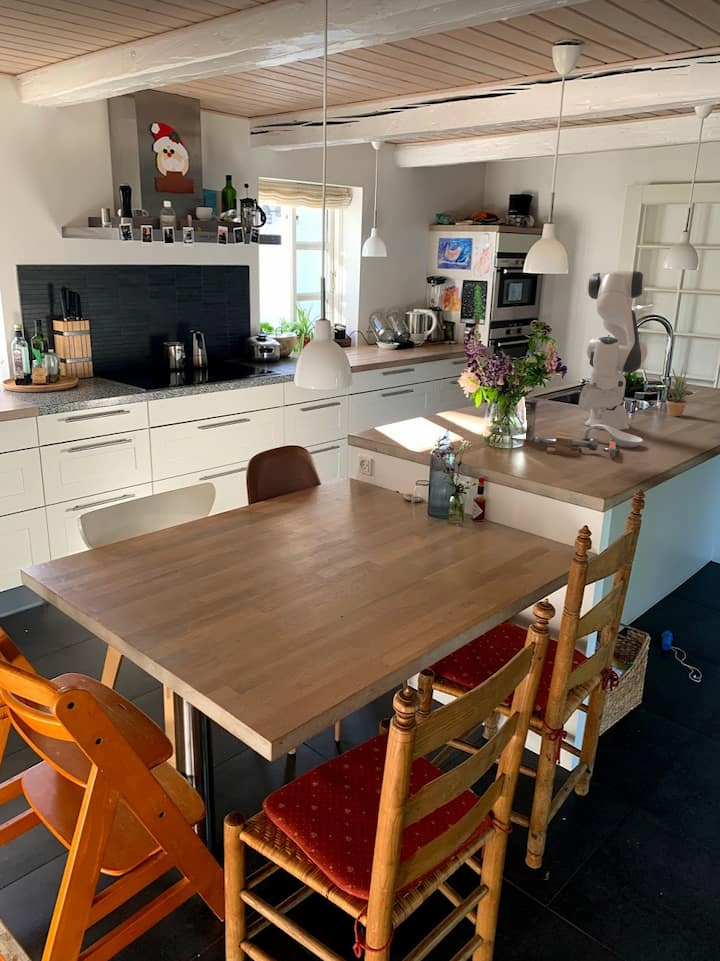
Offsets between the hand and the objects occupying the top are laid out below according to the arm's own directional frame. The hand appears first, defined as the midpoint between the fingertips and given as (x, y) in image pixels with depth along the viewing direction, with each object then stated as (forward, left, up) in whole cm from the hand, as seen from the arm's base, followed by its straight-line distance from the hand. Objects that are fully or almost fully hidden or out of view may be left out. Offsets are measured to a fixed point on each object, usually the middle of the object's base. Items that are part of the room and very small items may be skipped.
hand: (598, 419), depth 282 cm
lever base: (-13, +7, -15) cm, 21 cm away
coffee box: (-20, -28, -15) cm, 38 cm away
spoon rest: (-25, +7, -15) cm, 30 cm away
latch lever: (-5, +7, -13) cm, 16 cm away
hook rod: (-6, -11, -13) cm, 18 cm away
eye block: (-6, -11, -15) cm, 19 cm away
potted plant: (-95, +38, -15) cm, 103 cm away
